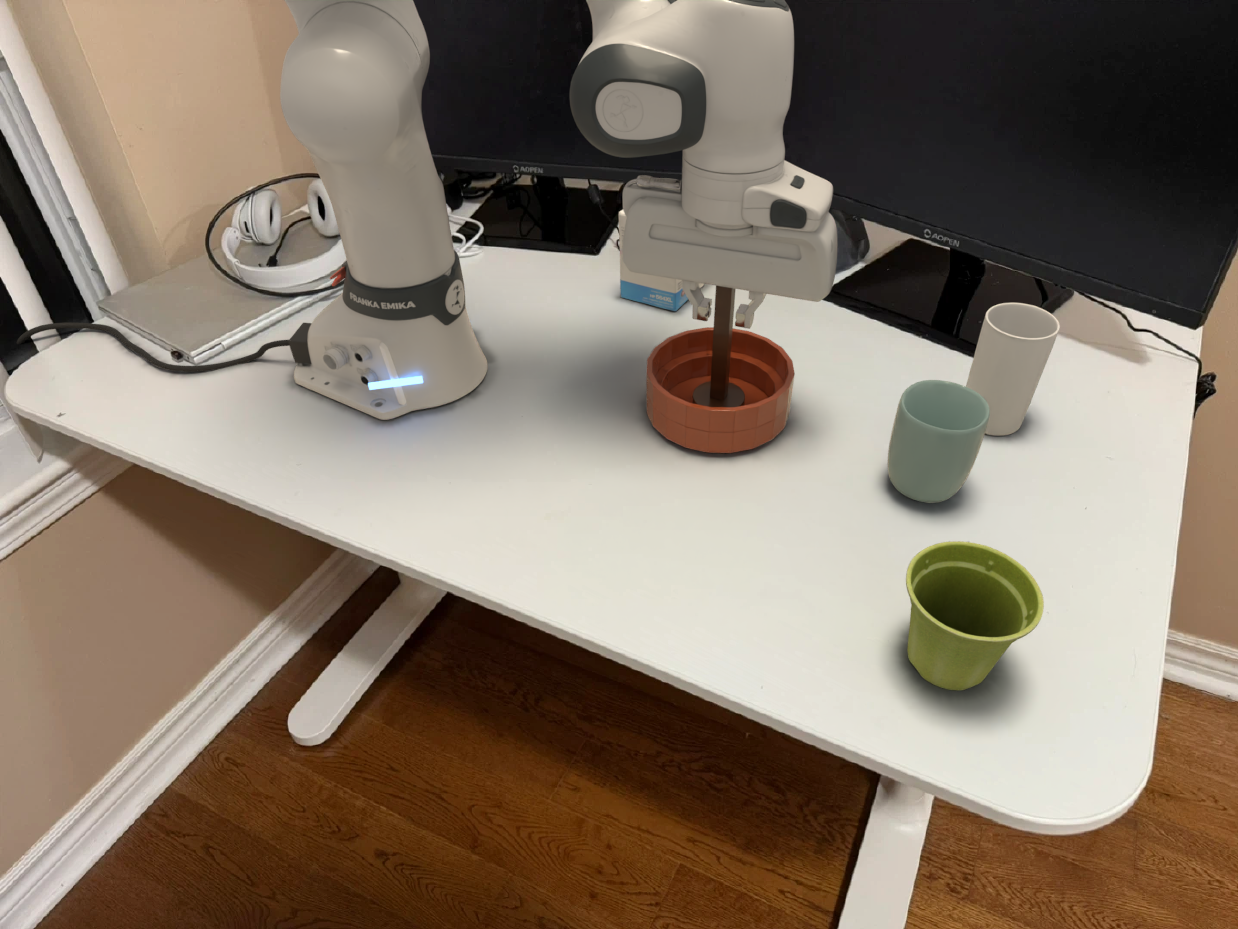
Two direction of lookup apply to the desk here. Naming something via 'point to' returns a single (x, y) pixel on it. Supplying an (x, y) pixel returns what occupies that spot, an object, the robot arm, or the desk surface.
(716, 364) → the brown post stand
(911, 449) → the cup
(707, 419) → the bowl
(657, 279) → the ink box
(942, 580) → the plant pot
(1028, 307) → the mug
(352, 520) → the desk surface
